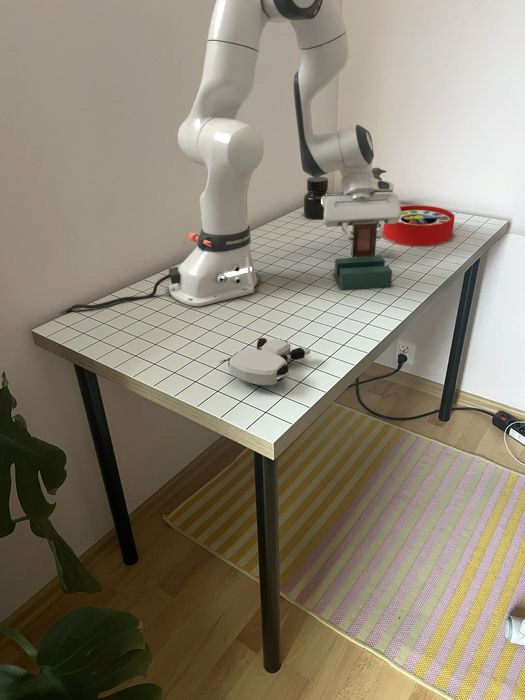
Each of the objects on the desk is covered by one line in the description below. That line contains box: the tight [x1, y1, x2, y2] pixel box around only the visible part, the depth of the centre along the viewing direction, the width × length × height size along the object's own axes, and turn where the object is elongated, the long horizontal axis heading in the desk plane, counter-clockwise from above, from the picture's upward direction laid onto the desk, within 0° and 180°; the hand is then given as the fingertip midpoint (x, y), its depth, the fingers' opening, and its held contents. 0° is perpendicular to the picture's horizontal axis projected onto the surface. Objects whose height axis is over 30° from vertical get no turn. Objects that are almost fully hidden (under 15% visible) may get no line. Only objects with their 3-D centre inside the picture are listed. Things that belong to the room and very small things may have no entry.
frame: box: [350, 221, 378, 258], centre depth 145 cm, size 2×6×9 cm, turn 94°
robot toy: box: [218, 337, 311, 386], centre depth 103 cm, size 12×4×15 cm
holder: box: [334, 255, 393, 291], centre depth 137 cm, size 10×12×4 cm
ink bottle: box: [303, 176, 329, 220], centre depth 182 cm, size 10×9×12 cm
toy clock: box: [382, 204, 455, 247], centre depth 164 cm, size 20×6×20 cm
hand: (364, 238), depth 144 cm, fingers closed on frame, 6 cm apart
